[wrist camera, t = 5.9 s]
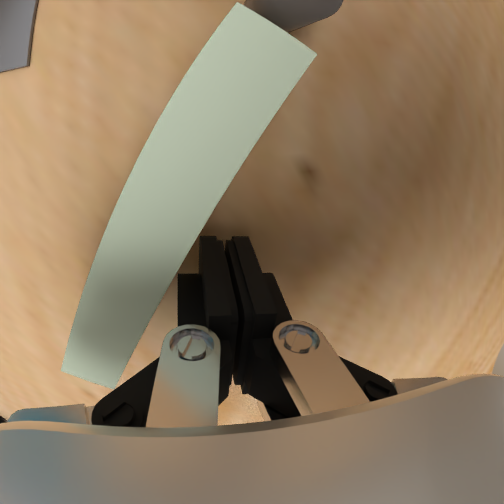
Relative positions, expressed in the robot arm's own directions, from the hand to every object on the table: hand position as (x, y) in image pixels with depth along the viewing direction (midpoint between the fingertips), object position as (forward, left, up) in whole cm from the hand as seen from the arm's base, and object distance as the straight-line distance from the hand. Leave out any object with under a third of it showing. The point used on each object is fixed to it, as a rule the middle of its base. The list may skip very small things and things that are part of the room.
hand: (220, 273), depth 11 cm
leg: (+2, -2, -1) cm, 4 cm away
